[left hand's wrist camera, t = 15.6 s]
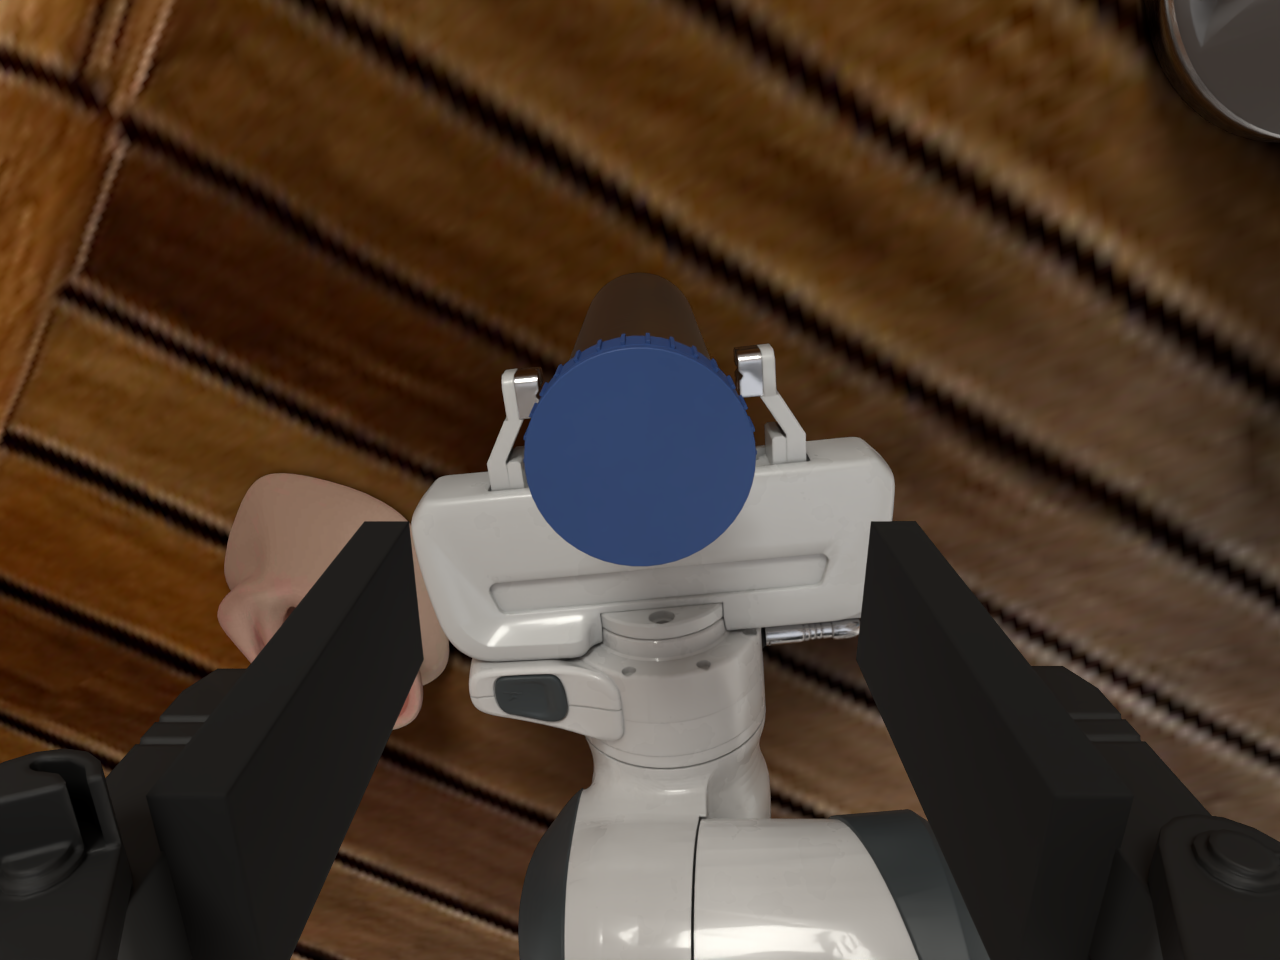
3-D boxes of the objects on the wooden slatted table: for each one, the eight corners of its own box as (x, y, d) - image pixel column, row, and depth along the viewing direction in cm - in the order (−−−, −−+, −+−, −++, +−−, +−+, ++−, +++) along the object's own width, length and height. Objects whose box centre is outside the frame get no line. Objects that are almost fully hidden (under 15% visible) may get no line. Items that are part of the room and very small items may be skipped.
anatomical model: (166, 500, 37) (418, 504, 38) (209, 470, 41) (437, 475, 41) (212, 740, 42) (437, 743, 42) (247, 694, 46) (453, 697, 46)
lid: (763, 339, 21) (772, 352, 20) (738, 550, 23) (745, 576, 22) (531, 324, 21) (522, 336, 20) (527, 537, 23) (519, 563, 22)
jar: (699, 276, 38) (750, 365, 20) (689, 384, 40) (729, 553, 22) (588, 268, 38) (542, 351, 20) (583, 377, 40) (537, 541, 22)
